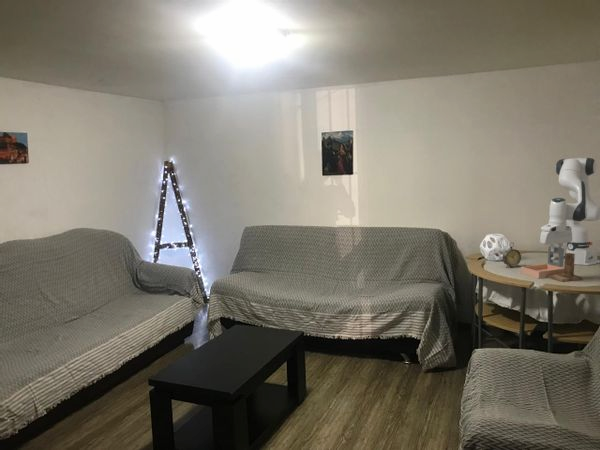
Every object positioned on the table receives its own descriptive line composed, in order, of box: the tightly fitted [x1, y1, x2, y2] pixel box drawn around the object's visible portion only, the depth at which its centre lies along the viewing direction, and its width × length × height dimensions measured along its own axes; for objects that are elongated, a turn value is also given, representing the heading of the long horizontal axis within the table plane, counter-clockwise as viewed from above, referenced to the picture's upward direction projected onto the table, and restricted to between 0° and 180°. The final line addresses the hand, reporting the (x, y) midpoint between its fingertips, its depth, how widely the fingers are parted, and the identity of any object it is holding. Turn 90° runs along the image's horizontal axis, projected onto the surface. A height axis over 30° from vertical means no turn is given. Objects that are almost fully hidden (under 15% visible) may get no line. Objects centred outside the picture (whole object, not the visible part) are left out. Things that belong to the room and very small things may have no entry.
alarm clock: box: [502, 241, 522, 269], centre depth 307 cm, size 11×5×16 cm, turn 101°
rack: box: [547, 252, 582, 283], centre depth 276 cm, size 17×10×14 cm, turn 108°
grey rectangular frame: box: [547, 245, 565, 268], centre depth 273 cm, size 2×8×10 cm, turn 18°
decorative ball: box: [479, 233, 512, 262], centre depth 329 cm, size 20×20×17 cm
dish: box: [520, 263, 564, 279], centre depth 288 cm, size 20×14×4 cm
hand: (555, 251), depth 273 cm, fingers closed on grey rectangular frame, 2 cm apart
